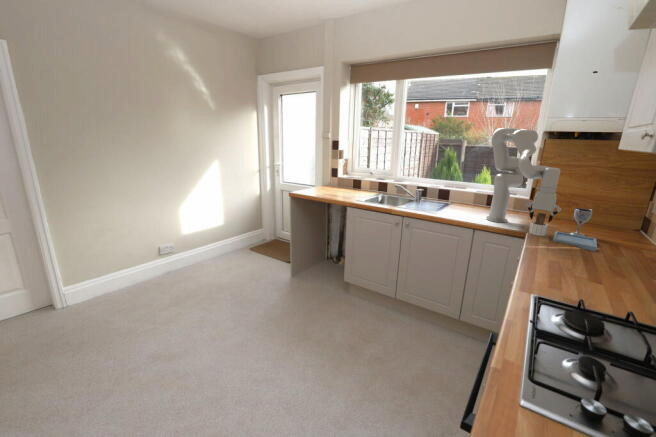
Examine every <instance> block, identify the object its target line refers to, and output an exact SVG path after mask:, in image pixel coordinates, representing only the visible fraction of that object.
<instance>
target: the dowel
mask: <svg viewBox="0 0 656 437" xmlns="http://www.w3.org/2000/svg"><path fill="white" fill-rule="evenodd" d="M536 214H537V215H536V217H535V218H536V219H535V221H534V222H535V224H538V225H544V223H545V221H546V216H547V214H546V213H544V212H537V213H536Z"/></svg>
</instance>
